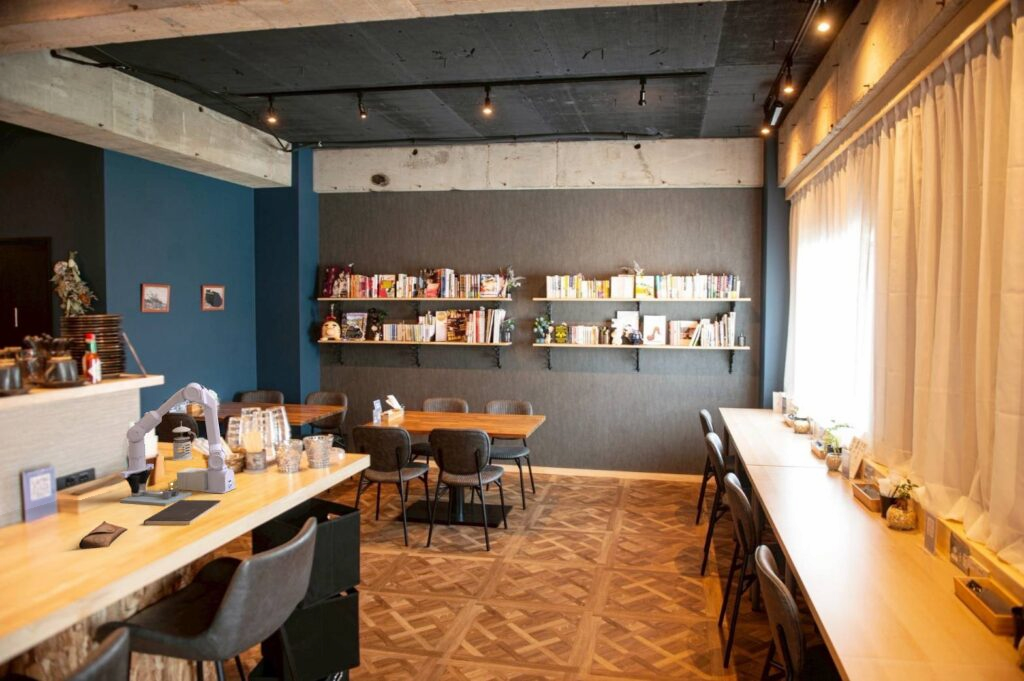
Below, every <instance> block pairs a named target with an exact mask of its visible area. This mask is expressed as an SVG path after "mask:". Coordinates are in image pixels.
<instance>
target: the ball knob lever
mask: <svg viewBox="0 0 1024 681" xmlns="http://www.w3.org/2000/svg"><path fill="white" fill-rule="evenodd" d="M167 486H168V487H167V490H173V489H174V488H177V486H178V479H177V478H176V479H173V480H172V481H170V482H168V484H167Z"/></svg>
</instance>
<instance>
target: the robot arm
mask: <svg viewBox="0 0 1024 681" xmlns="http://www.w3.org/2000/svg"><path fill="white" fill-rule="evenodd" d="M187 401H189V402H192V403H196V404H198V405H200V407H203V413H204V420H205V421H204V422H205V428H206V434H207V435H206V436H207V442H208V453H209V456H208V459H207V465H208V467H207V468H206V469H207V470H208V489H206V490H204V491H202V492H203V493H212V494H213V493H214V494H215V493H216V494H225V493H228V492H230V491H232V490H235V489H237V486H235V485H236V484H235V472H234V470H233V469H232V468H228V465H227V464H226V459H227V454H226V452H225V451H224V449H223V443H222V440H221V433H220V432H221V431H220V426H219V424H220V423H219V419H218V418H219V417H218V410H217V402H216V399H215V398H214V396H213V395H212V394H211V393H210V391H208V390H207V389H206V387H205V386H204V385H202V384H200V383H197V382H190V383H188V384H187V385H186V387H182V388H181V389H180V390H178V391H177V392H175V393H174V394H173V395H172V396H171V397H170V398H168V400H166V401H165V402H164V403H163V404H162V405H160V406H159V407H158V408H157V409H156V410H150V411H146V412H145V413H143V415H144V416H143V417H142V418H140V419H139V420H138V421H135V422H134V425H133V426H131V427H130V428H129V429H128V430H127V431H126V438H127V440H128V442H127V443H128V446H127V450H128V451H127V453H128V454H127V455H128V467H127V469H126V470H123V471H122V472H120V478H121V479H125V480H126V482H127V483H128V486H129V488H130V492H131V491H132V493H138V485H139V483H144V484H146V485H147V482H148V479H149V478H150V477H151V476H150V475H151V471H150V470H154V468H155V466H154V465H155V464H154V463H147V461H146V458H147V455H146V444H145V443H146V442H145V436H146V434H149V433H150V432H151V431H153V429H155V428H156V427H157V426H159V424H160V423H162V420H163V418H162V417H163V416H165V415H166V414H167V413H168V412H169V411H171V409H173V408H174V407H175V406H176V405H178V404H179V403H180V404H181V403H186V402H187Z"/></svg>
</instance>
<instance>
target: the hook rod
mask: <svg viewBox="0 0 1024 681" xmlns="http://www.w3.org/2000/svg"><path fill="white" fill-rule="evenodd" d="M146 486H147V483H146V484H144V483H139V485H138V493H132V491H131V490H130V492H131V493H130V496H132V495H133V496H142V495H158V496H163V492H155V491H146V490H147V489H146V488H147V487H146Z"/></svg>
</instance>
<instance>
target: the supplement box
mask: <svg viewBox="0 0 1024 681" xmlns="http://www.w3.org/2000/svg"><path fill="white" fill-rule="evenodd" d="M176 479H178V486H177V487H176V488H179V491H196V492H197V491H199V492H203V491H204V490H206V489H208V470H207V468H202V467H201V468H200V467H187V468H184V469H182V470H179V471H177V472H176Z"/></svg>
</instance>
